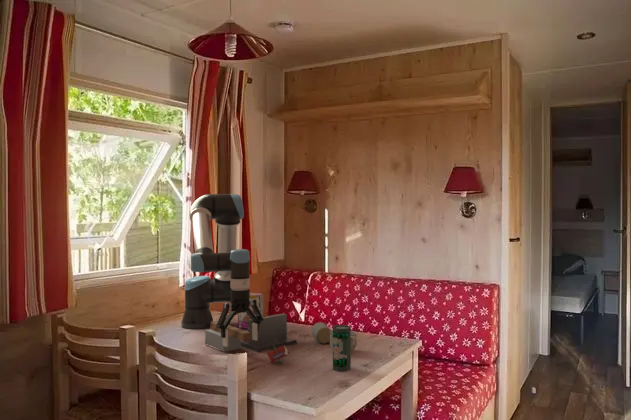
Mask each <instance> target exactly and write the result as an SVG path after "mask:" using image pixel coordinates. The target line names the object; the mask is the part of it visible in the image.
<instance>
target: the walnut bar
mask: <svg viewBox="0 0 631 420" xmlns="http://www.w3.org/2000/svg"><path fill="white" fill-rule="evenodd" d="M217 323H218V320H216V321H215V320H213V322H210V327H209V329H211V330H214V331H217V332H219V333H221V329H219V328H217V327H216V325H217ZM226 329H228V336H230V337H233V338H236V339H239V340H241V341H249V340H251V332H248V330H246V329H239V328H238V327H236V326H232V325H230V324H229V325H228V327H227V328H226Z"/></svg>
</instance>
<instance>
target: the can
mask: <svg viewBox="0 0 631 420" xmlns="http://www.w3.org/2000/svg"><path fill="white" fill-rule="evenodd" d="M332 330H333V349H332V369H333V371H336V372H348V371H350V370H351V368H352V367H351V365H352V364H351V362H352V361H351V359H352V358H351V353H352V352H351V331H352V330H351V326H350V325H347V324H345V325H344V324H336V325H334V326H332Z"/></svg>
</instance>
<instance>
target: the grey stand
mask: <svg viewBox="0 0 631 420" xmlns="http://www.w3.org/2000/svg"><path fill="white" fill-rule="evenodd" d="M205 344H208V345H211V346H213V347H216V348H218V349H220V350H223V351H227V352H229V351H228V350H231V351H234V350H235V351H236V350H240V349H242V346H241V340H239V339H236V338H233V337H230V336H228V346H227V347H226V346H223V338H222V337H221V333H219V332H217V331H214V330H211V329H210V328H209V329H205V330H204V345H205ZM208 345H207V346H208ZM213 347H212V348H213ZM220 350H219V351H220Z"/></svg>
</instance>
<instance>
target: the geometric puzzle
mask: <svg viewBox="0 0 631 420" xmlns="http://www.w3.org/2000/svg"><path fill="white" fill-rule="evenodd" d="M273 346H274V349H270V350H268V351H267V352H266V354H267V357H268V358H269V361H270V364H274V363H275V362H278V363H276V364H278V365H279V363H280V365H283V363H284V362H283V361H284V359H285V358H286V357H287V356H288V355H289V354H288V349H287V347H286V346H284V345H282V346H281V347H279V348H278V347H277V348H276V347H275V345H273ZM273 346H272V347H273ZM281 360H282V361H281Z"/></svg>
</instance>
